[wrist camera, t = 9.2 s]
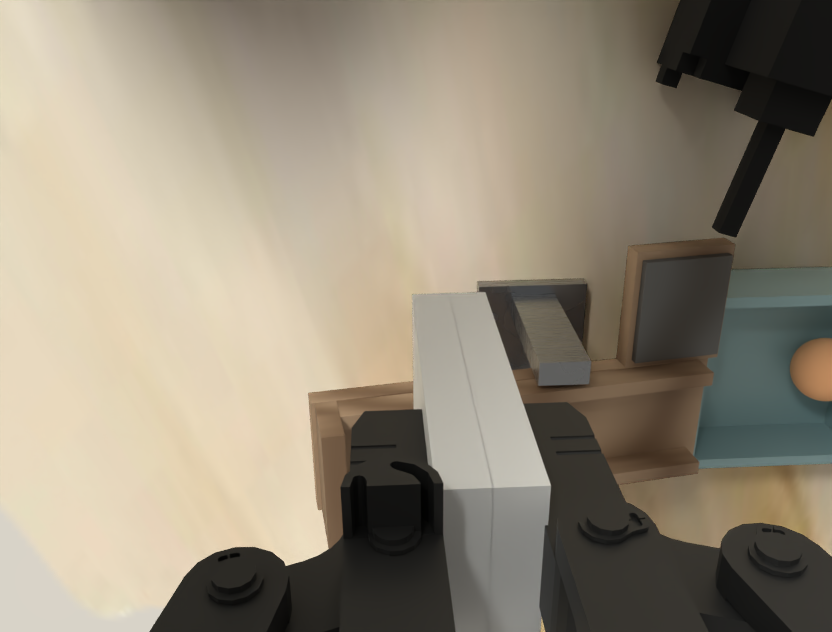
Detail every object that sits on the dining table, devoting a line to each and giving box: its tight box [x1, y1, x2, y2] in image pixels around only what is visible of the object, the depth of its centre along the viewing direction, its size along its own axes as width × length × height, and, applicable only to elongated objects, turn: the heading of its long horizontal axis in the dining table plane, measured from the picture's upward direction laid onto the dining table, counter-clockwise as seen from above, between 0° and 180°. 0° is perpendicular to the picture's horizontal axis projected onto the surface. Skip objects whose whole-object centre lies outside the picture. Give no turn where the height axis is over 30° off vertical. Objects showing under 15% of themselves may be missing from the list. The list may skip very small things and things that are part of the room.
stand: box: [477, 279, 591, 386], centre depth 43 cm, size 6×10×9 cm, turn 1°
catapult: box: [308, 238, 735, 549], centre depth 37 cm, size 20×12×4 cm, turn 92°
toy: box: [656, 0, 832, 237], centre depth 36 cm, size 8×14×10 cm, turn 165°
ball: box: [790, 338, 832, 401], centre depth 45 cm, size 4×4×4 cm
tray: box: [693, 267, 832, 469], centre depth 45 cm, size 11×11×6 cm
